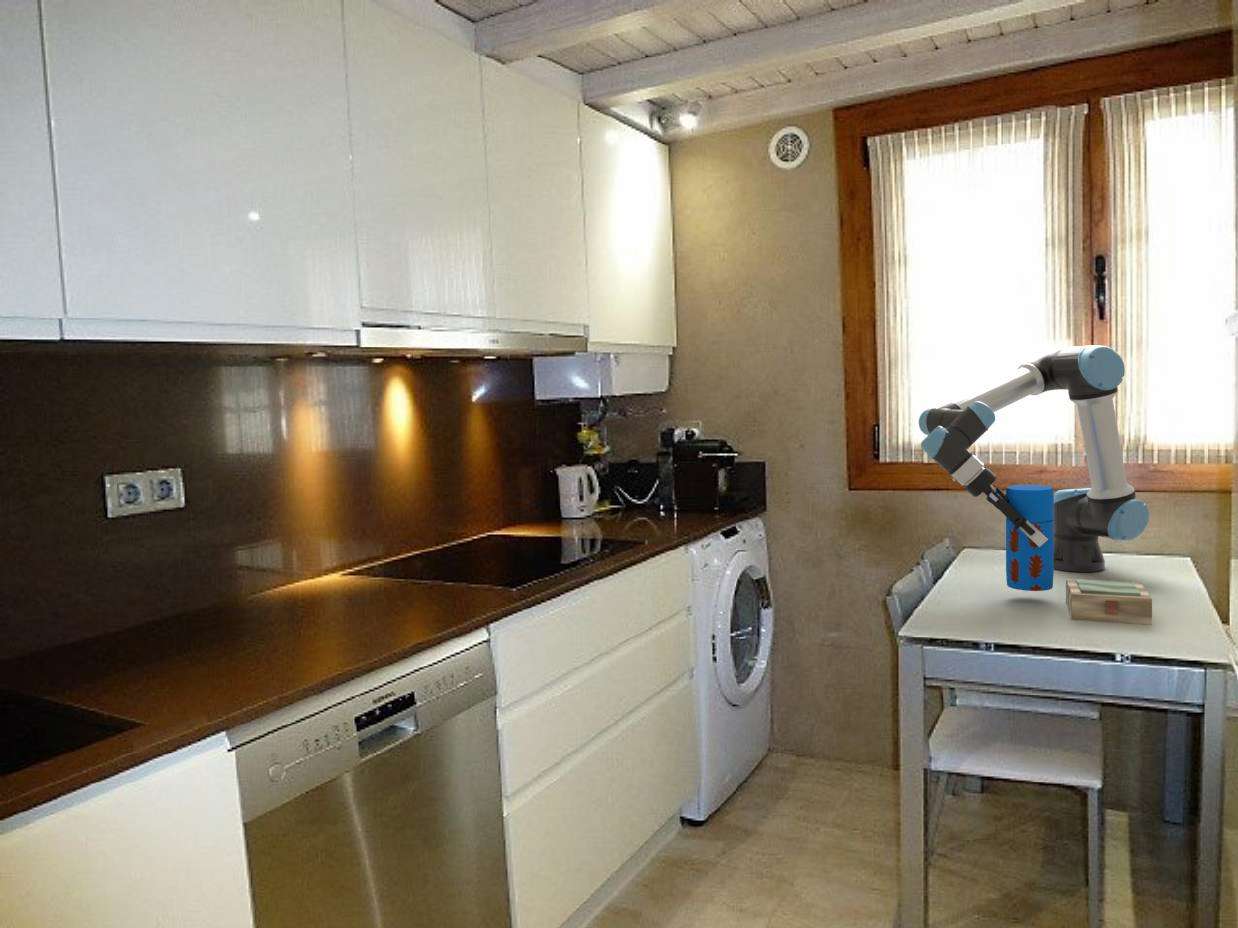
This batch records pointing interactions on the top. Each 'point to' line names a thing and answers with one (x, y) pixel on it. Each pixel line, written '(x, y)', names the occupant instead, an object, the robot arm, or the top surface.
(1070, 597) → the wooden box
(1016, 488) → the thermos
